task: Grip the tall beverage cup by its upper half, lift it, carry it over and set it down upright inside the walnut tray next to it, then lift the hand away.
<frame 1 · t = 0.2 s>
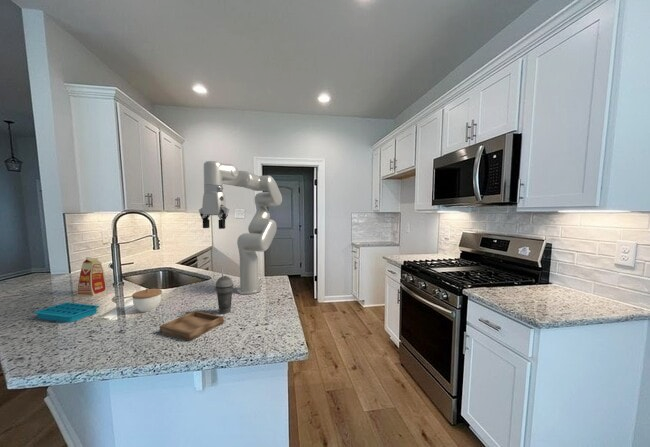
hand: (213, 228, 113), 36 cm above the countertop, tool pointing down, fingers open, 9 cm apart
beverage cup: (225, 312, 110), on the countertop
walnut tray: (193, 327, 95), on the countertop
milk carton: (92, 293, 135), on the countertop
ice cube tray: (68, 316, 107), on the countertop
lidded jar: (148, 309, 113), on the countertop
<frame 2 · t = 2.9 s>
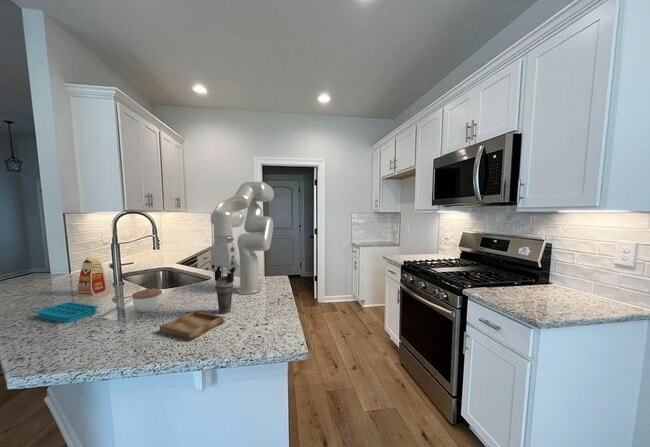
hand: (224, 280, 109), 14 cm above the countertop, tool pointing down, fingers closed on beverage cup, 6 cm apart
beverage cup: (225, 312, 110), on the countertop, touching gripper
everything else where it was.
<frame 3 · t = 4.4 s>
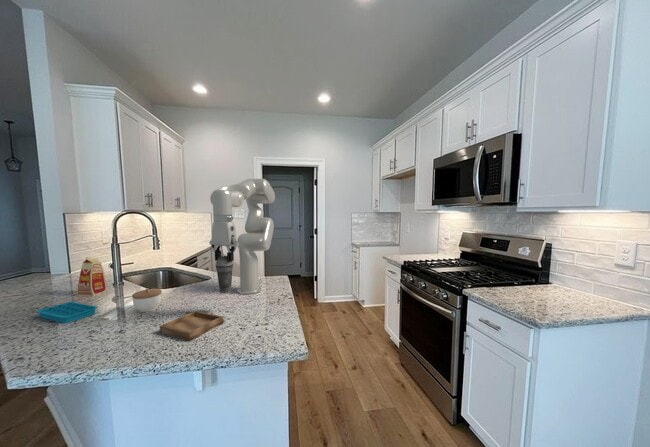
hand: (224, 260, 109), 23 cm above the countertop, tool pointing down, fingers closed on beverage cup, 6 cm apart
beverage cup: (225, 291, 110), point 9 cm above the countertop, touching gripper
everything else where it was.
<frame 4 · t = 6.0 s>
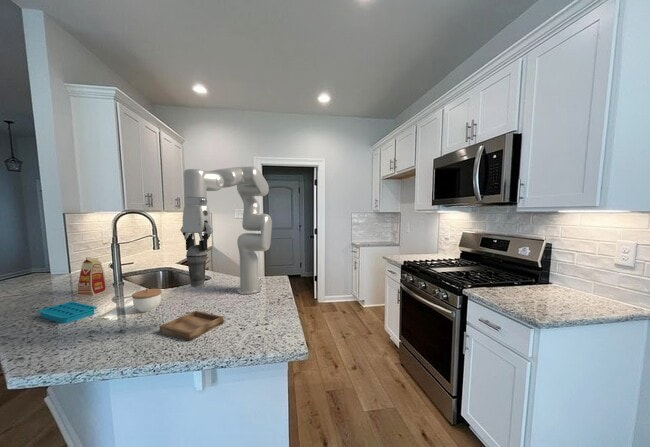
hand: (196, 249, 96), 29 cm above the countertop, tool pointing down, fingers closed on beverage cup, 6 cm apart
beverage cup: (197, 285, 96), point 15 cm above the countertop, touching gripper
everything else where it was.
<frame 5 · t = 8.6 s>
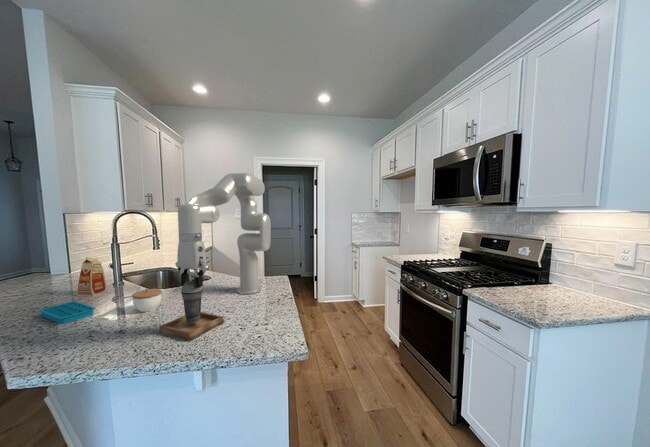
hand: (192, 285, 94), 16 cm above the countertop, tool pointing down, fingers closed on beverage cup, 6 cm apart
beverage cup: (193, 321, 95), point 2 cm above the countertop, touching gripper
when the fingers open (16 cm above the countertop, at t = 9.5 s): beverage cup drops 1 cm, resting on walnut tray.
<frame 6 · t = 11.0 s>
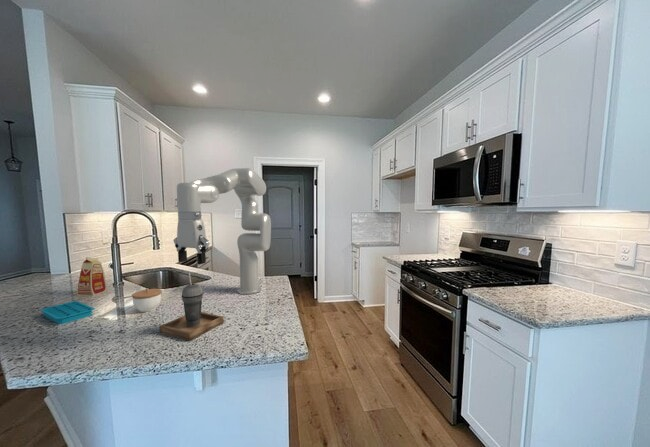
hand: (192, 262, 94), 25 cm above the countertop, tool pointing down, fingers open, 9 cm apart
beverage cup: (193, 325, 95), point 1 cm above the countertop, touching walnut tray
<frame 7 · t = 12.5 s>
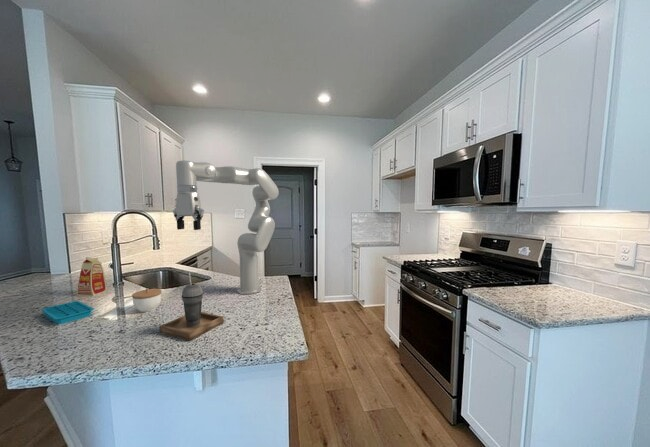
hand: (188, 229, 110), 36 cm above the countertop, tool pointing down, fingers open, 9 cm apart
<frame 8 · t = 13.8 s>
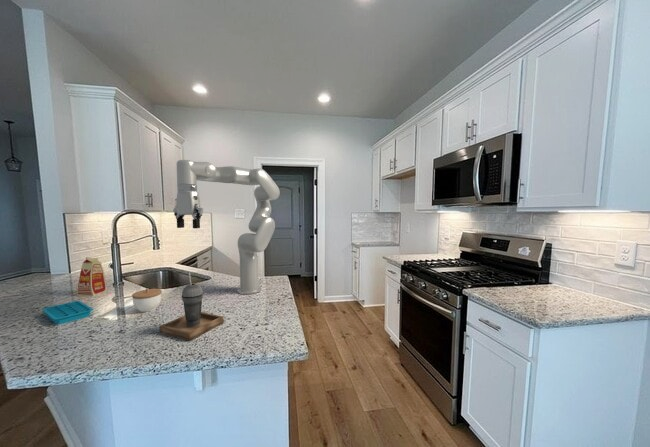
hand: (188, 228, 112), 36 cm above the countertop, tool pointing down, fingers open, 9 cm apart
at the end: beverage cup inside the target area on the walnut tray (0.2 cm from its centre), point 0.8 cm above the walnut tray's base; beverage cup tilted 0°; the gripper is holding nothing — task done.
